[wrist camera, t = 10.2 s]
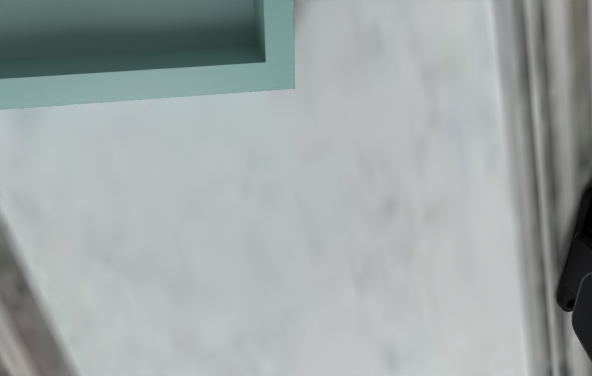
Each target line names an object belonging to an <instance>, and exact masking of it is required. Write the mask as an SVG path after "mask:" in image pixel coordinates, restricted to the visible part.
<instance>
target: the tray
mask: <svg viewBox="0 0 592 376" xmlns="http://www.w3.org/2000/svg"><path fill="white" fill-rule="evenodd" d="M283 89H295V59H294V0H0V110H3V109H17V108H31V107H45V106H59V105H73V104H87V103H101V102H115V101H129V100H143V99H157V98H171V97H185V96H199V95H213V94H227V93H241V92H255V91H269V90H283Z"/></svg>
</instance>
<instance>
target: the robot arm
mask: <svg viewBox="0 0 592 376" xmlns="http://www.w3.org/2000/svg"><path fill="white" fill-rule="evenodd" d="M557 304H558V305H559V306H560V307H561V308H562V309H563V310H564V311H566V312H571V311H573V312H572V326H573V329H574V332H575V334H576V335H577V337H578V339H579V341H580V343H581V344H582V346H583V348H584V350H585V351H586V353H587V355H588V357H589V358H590V360H591V362H592V187H590V188H589V189H588V190H587V191H586V192H585V194H584V197H583V200H582V204H581V208H580V212H579V216H578V220H577V224H576V227H575V231H574V235H573V239H572V243H571V247H570V250H569V254H568V258H567V262H566V266H565V270H564V274H563V277H562V281H561V285H560V289H559V293H558V297H557Z"/></svg>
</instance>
